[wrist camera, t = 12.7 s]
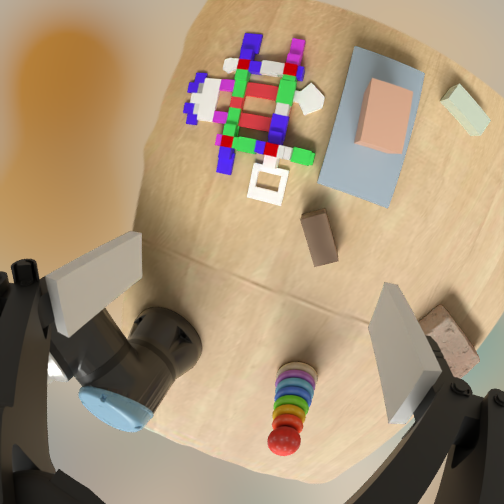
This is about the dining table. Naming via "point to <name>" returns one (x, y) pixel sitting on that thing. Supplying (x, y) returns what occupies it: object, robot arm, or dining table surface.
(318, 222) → the walnut block
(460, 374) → the brick
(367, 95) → the terracotta block
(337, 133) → the base block
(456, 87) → the sage block
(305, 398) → the stacking toy
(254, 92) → the building block set
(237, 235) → the dining table surface
